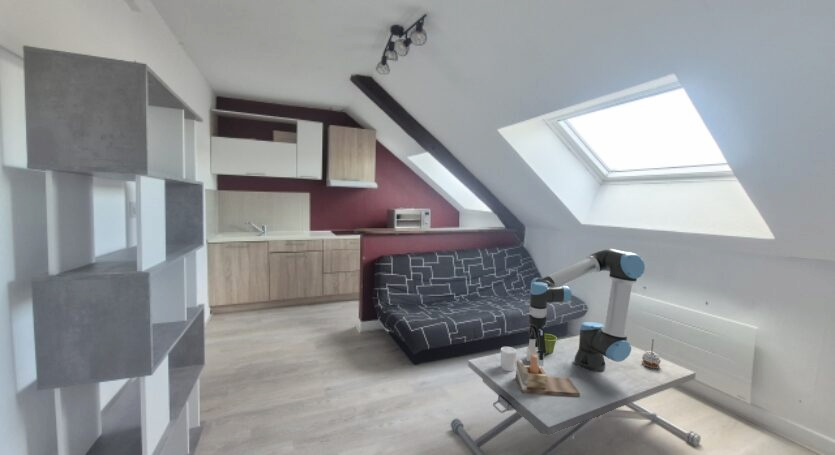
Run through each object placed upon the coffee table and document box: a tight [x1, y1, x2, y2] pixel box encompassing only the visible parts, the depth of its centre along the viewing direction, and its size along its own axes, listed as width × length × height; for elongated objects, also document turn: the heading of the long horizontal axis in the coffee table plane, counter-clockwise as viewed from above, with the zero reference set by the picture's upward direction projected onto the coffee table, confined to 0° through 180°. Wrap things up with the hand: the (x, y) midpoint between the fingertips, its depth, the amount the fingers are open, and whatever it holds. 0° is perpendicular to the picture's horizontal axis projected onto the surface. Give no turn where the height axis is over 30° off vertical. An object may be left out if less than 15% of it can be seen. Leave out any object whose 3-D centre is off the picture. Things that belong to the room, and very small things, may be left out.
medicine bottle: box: [526, 339, 538, 362], centre depth 189 cm, size 7×7×12 cm
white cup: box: [500, 346, 517, 372], centre depth 179 cm, size 8×8×10 cm
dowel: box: [529, 355, 539, 374], centre depth 162 cm, size 4×4×13 cm
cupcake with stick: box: [641, 338, 662, 369], centre depth 186 cm, size 8×8×15 cm
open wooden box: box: [523, 364, 548, 388], centre depth 162 cm, size 9×9×6 cm
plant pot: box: [544, 333, 558, 354], centre depth 200 cm, size 9×9×9 cm
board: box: [515, 359, 581, 397], centre depth 162 cm, size 26×13×10 cm, turn 87°
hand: (535, 358), depth 162 cm, fingers open, 13 cm apart
